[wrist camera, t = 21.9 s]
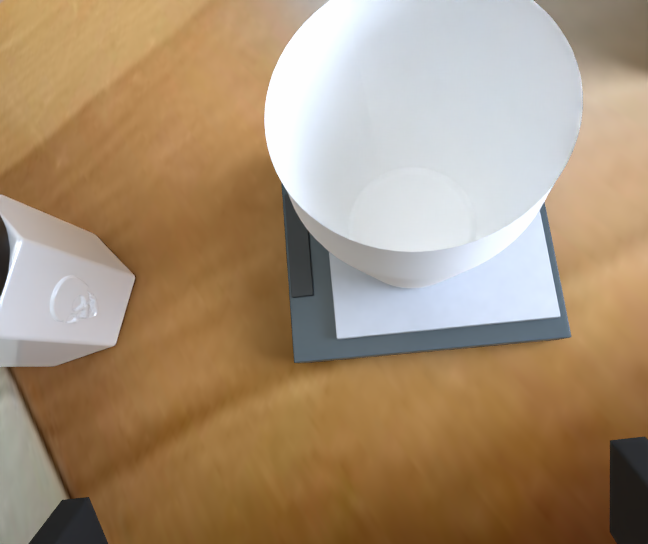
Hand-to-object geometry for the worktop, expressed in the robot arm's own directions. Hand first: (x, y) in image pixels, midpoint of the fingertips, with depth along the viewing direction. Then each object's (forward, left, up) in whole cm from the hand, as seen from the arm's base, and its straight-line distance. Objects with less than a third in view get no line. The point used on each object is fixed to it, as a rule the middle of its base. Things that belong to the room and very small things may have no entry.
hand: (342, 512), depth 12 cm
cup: (+3, +11, -12) cm, 16 cm away
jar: (-19, +10, -15) cm, 26 cm away
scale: (+3, +11, -14) cm, 18 cm away
